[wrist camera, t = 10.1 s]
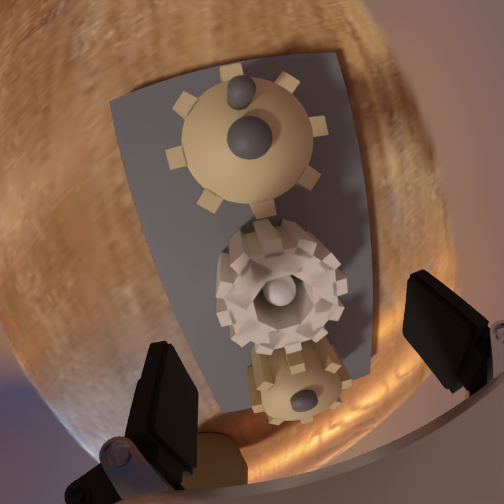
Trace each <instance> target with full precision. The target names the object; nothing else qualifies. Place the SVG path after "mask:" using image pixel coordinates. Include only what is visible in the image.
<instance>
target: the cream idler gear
mask: <svg viewBox="0 0 504 504" xmlns="http://www.w3.org/2000/svg"><path fill="white" fill-rule="evenodd" d="M253 225H254V230H255V232H252V233H248V234H244V233H243V232H242V231H241V230H238V231H237V232H236V233H235V234H234V235H233V236H232V237H231V238H230V239H229V240H228V241H229V254H227V253H223V252H221V254H220V257H219V261H218V265H217V281H216V297H217V305H216V314H217V316H218V319H219V322H220V325H221V327H223V326H228V325H230V339H231V340H233V341H234V342H236V343H237V344H238V345H240V346H241V347H243V346H245V345H246V344H247V343H248V342H250V341H252V342H254V344H255V350H256V353H260V354H266V355H272V352H273V350H274V349H278V348H282V347H285V350H286V354H289V353H293V352H297V351H300V350H302V347H301V342H304V341H307V340H311V339H312V340H313V341H314V342H318V341H319V340H320V339H322V338H323V337H324V336H325V335H327V334H328V332H327V330H326V328H325V326H324V325H325V323H326V322H327V321H328V320H334V321H338V320H339V318H340V316H341V314H342V312H343V310H344V308H345V307H344V306H343V305H342V303H341V302H340V300H339V299H338V297H337V296H340V295H343V294H346V293H348V290H347V278H346V277H345V276H344V275H343V274H342V273H341V272H340V271H339V269H338V267H339V266H340V265H341V264H340V262H339V261H338V260H337V259H336V257H335V256H334V255H333V254H332V253H331V252H330V251H329V250H328V249H327V248H326V247H325V246H324V245H323V244H322V243H321V242H320V241H319V240H318V239H317V238H316V237H315V236H314V235H313V234H311V233H310V232H309V231H308V230H307V231H306V232H305V231H304V230H303V229H302V228H301V227H300V226H299V225H298V224H297V223H295V222H292V221H289V220H285V219H282V221H281V224H280V226H276V227H273V226H272V224H271V223H270V221H269V220H268V218H267V219H263V220H259V221H255V222H253ZM288 275H294V276H295V277H294V278H293V281H294V283H295V286H296V294H295V297H294V299H293V300H292V301H291V302H290V303H289V304H287V305H284V306H275V305H272V304H271V303H269V302H268V301H267V300H266V298H265V296H264V293H263V292H262V291H260V290H261V288H262V287H263V285H264V284H265V283H266V281H269V280H272V279H276V278H280V277H284V276H288Z"/></svg>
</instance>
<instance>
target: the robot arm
mask: <svg viewBox="0 0 504 504" xmlns="http://www.w3.org/2000/svg"><path fill="white" fill-rule="evenodd" d="M488 323H489V321H488V320H487V319H486V318H484V317H483V316H482V315H481V314H480V313H479V312H477V311H476V310H475V309H474V308H473V307H472V306H470V305H469V304H468V303H467V302H465V301H464V300H463V299H462V298H461V297H459V296H458V295H457V294H456V293H454V292H453V291H452V290H451V289H449V288H448V287H447V286H445V285H444V284H443V283H442V282H440V281H439V280H438V279H436V278H435V277H434V276H432V275H431V274H430V273H428V272H427V271H426V270H420V271H417V272H415V273H412V274H411V275H410V278H409V279H408V281H407V293H406V303H405V313H404V321H403V329H402V331H403V335H404V337H405V338H406V340H407V341H408V342H409V343H410V344H411V346H412V347H413V348H414V349H415V351H416V352H417V353H418V354H419V355H420V357H421V358H422V359H423V360H424V362H425V363H426V364H427V366H428V367H429V368H430V369H431V371H432V372H433V373H434V374H435V376H436V377H437V378H438V380H439V381H440V382H441V384H442V385H443V386H444V387H445V388H446V389H449V390H450V391H451V392H452V394H453V393H454V392H456V391H457V390H459V389H460V388H462V386H464V387H465V389H466V392H465V400H464V401H463V402H461V403H460V404H458V405H457V406H455V407H454V408H452V409H451V410H449V411H448V412H446V413H444V414H443V415H441V416H439V417H438V418H436V419H435V420H433V421H431V422H429V423H428V424H426V425H424V426H423V427H420V428H419V429H417V430H415V431H413V432H411V433H409V434H407V435H405V436H403V437H401V438H399V439H397V440H395V441H393V442H391V443H389V444H386V445H384V446H382V447H379V448H377V449H375V450H372V451H370V452H367V453H365V454H363V455H360V456H357V457H355V458H352V459H349V460H346V461H343V462H340V463H337V464H334V465H331V466H328V467H325V468H321V469H318V470H314V471H311V472H307V473H303V474H299V475H295V476H291V477H286V478H281V479H277V480H271V481H266V482H260V483H253V484H246V485H239V486H231V487H221V488H209V489H192V490H188V489H187V488H186V487H185V486H184V485H183V484H182V483H181V482H182V478H183V476H184V475H193V468H196V467H197V426H198V391H197V388H196V386H195V385H194V383H193V381H192V379H191V378H190V376H189V374H188V372H187V371H186V369H185V367H184V365H183V363H182V362H181V360H180V358H179V356H178V354H177V352H176V351H175V349H174V347H173V345H172V344H168V343H167V342H166V341H161V342H155V343H151V344H150V346H149V350H148V353H147V357H146V360H145V364H144V368H143V371H142V375H141V378H140V379H139V380H138V383H137V386H136V390H135V394H134V398H133V402H132V406H131V410H130V414H129V418H128V423H127V427H126V432H125V436H124V437H121V436H118V437H113V438H111V439H109V440H108V441H107V442H105V443H104V445H103V446H102V447H101V450H100V453H99V459H100V462H101V463H100V464H98V465H97V466H96V467H94V468H93V469H91V470H90V471H89V472H87V473H86V474H84V475H83V476H81V477H80V478H78V479H77V480H75V481H74V482H72V483H71V484H70V485H69V486H68V487H67V489H66V491H65V502H66V504H504V320H502V321H497V322H495V323H494V324H493V325H492V326H491V328H489V327H488Z"/></svg>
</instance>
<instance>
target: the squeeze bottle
mask: <svg viewBox="0 0 504 504" xmlns="http://www.w3.org/2000/svg"><path fill="white" fill-rule="evenodd" d="M181 483H182V484H183V485H184V486H185V487H186V488H187V489H188V490H192V489H209V488H221V487H231V486H239V485H246V484H248V467H247V464H246V462H245V460H244V458H243V456H242V454H241V452H240V450H239V448H238V446H237V444H236V442H235V441H234V440H233V439H232V438H230V437H228V436H225V435H222V434H216V433H200V434H197V467H196V468H193V475H184V476H183V478H182V482H181Z"/></svg>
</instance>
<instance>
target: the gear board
mask: <svg viewBox="0 0 504 504" xmlns="http://www.w3.org/2000/svg"><path fill="white" fill-rule="evenodd" d="M110 107H111V113H112V118H113V122H114V127H115V132H116V136H117V141H118V145H119V149H120V153H121V157H122V161H123V165H124V169H125V173H126V176H127V180H128V184H129V187H130V191H131V194H132V197H133V201H134V204H135V207H136V211H137V214H138V217H139V220H140V223H141V226H142V229H143V232H144V235H145V238H146V241H147V244H148V247H149V250H150V252H151V255H152V258H153V261H154V263H155V266H156V269H157V271H158V274H159V277H160V279H161V282H162V284H163V287H164V289H165V292H166V294H167V297H168V299H169V302H170V304H171V306H172V309H173V311H174V313H175V316H176V318H177V320H178V323H179V325H180V327H181V329H182V332H183V334H184V336H185V338H186V340H187V343H188V345H189V347H190V349H191V351H192V353H193V355H194V357H195V359H196V361H197V364H198V366H199V368H200V370H201V372H202V374H203V376H204V377H205V379H206V381H207V383H208V385H209V387H210V389H211V391H212V393H213V395H214V397H215V398H216V400H217V402H218V404H219V406H220V407H221V409H222V411H223V413H228V412H234V411H239V410H245V409H250V408H252V409H253V412H254V413H259V412H264V411H265V412H266V413H267V416H268V421H269V423H270V424H275V425H280V424H281V423H282V422H283V421H284V420H286V421H293V420H301V423H302V424H304V423H308V422H311V421H313V416H314V415H317V414H319V413H321V412H323V411H324V410H326V409H327V408H328V409H333V410H334V409H336V408H337V407H338V406H339V405H340V404H341V403H342V402H341V399H340V397H339V395H340V393H341V390H343V389H346V388H348V387H351V380H354V379H357V378H359V377H362V376H365V375H367V374H370V364H371V350H372V327H373V275H372V252H371V237H370V224H369V214H368V204H367V196H366V188H365V181H364V174H363V167H362V161H361V155H360V149H359V144H358V139H357V134H356V129H355V124H354V119H353V115H352V110H351V106H350V102H349V98H348V94H347V90H346V86H345V83H344V79H343V75H342V72H341V68H340V65H339V62H338V59H337V55H336V52H329V53H305V54H292V55H282V56H273V57H265V58H258V59H252V60H246V61H240V62H235V63H229V64H225V65H220V66H215V67H211V68H207V69H203V70H199V71H195V72H191V73H188V74H184V75H181V76H177V77H174V78H171V79H168V80H165V81H162V82H159V83H156V84H153V85H150V86H147V87H144V88H142V89H139V90H136V91H134V92H131V93H129V94H126V95H124V96H121V97H119V98H117V99H114V100H112V101H110ZM267 218H268V220H269V221H270V223H271V224H272V226H273V227H276V226H280V224H281V221H282V219H285V220H289V221H292V222H295V223H297V224H298V225H299V226H300V227H301V228H302V229H303V230H304V231H305V232H306V231H307V230H308V231H309V232H310V233H311V234H313V235H314V236H315V237H316V238H317V239H318V240H319V241H320V242H321V243H322V244H323V245H324V246H325V247H326V248H327V249H328V250H329V251H330V252H331V253H332V254H333V255H334V256H335V257H336V259H337V260H338V261H339V262H340V264H341V265H340V266H339V267H338V269H339V271H340V272H341V273H342V274H343V275H344V276H345V277H346V278H347V290H348V293H346V294H343V295H340V296H337V297H338V299H339V300H340V302H341V303H342V305H343V306H344V307H345V308H344V310H343V312H342V314H341V316H340V318H339V320H338V321H334V320H328V321H327V322H326V323H325V325H324V326H325V328H326V330H327V332H328V334H327V335H325V336H324V337H323V338H322V339H320V340H319V341H318V342H314V341H313V340H312V339H311V340H307V341H304V342H301V347H302V350H300V351H297V352H293V353H289V354H286V350H285V347H282V348H278V349H274V350H273V352H272V355H266V354H260V353H256V350H255V344H254V342H252V341H250V342H248V343H247V344H246V345H245V346H243V347H241V346H240V345H238V344H237V343H236V342H234V341H233V340H231V339H230V325H228V326H223V327H221V325H220V322H219V319H218V316H217V314H216V305H217V297H216V281H217V265H218V261H219V257H220V254H221V252H223V253H227V254H229V241H228V240H229V239H230V238H231V237H232V236H233V235H234V234H235V233H236V232H237V231H238V230H241V231H242V232H243V233H244V234H248V233H252V232H255V230H254V225H253V222H255V221H259V220H263V219H267ZM294 277H295V276H294V275H288V276H284V277H280V278H276V279H272V280H269V281H266V283H265V284H264V285H263V287H262V288H261V290H260V291H262V292H263V293H264V296H265V298H266V300H267V301H268V302H269V303H271V304H272V305H275V306H284V305H287V304H289V303H290V302H291V301H292V300H293V299H294V297H295V294H296V286H295V283H294V281H293V278H294Z"/></svg>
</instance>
